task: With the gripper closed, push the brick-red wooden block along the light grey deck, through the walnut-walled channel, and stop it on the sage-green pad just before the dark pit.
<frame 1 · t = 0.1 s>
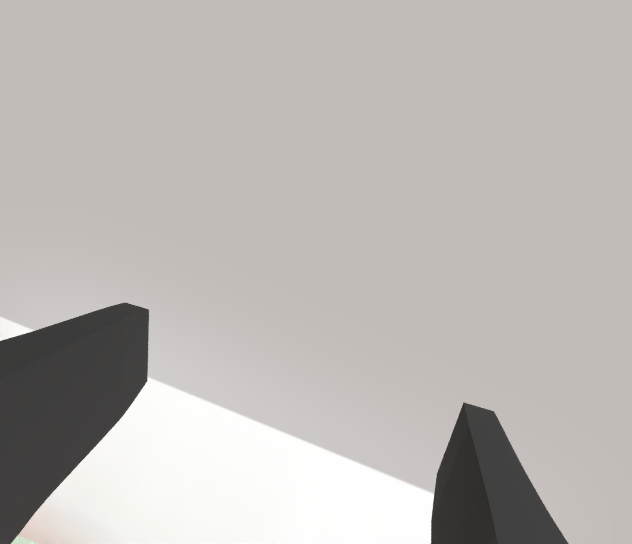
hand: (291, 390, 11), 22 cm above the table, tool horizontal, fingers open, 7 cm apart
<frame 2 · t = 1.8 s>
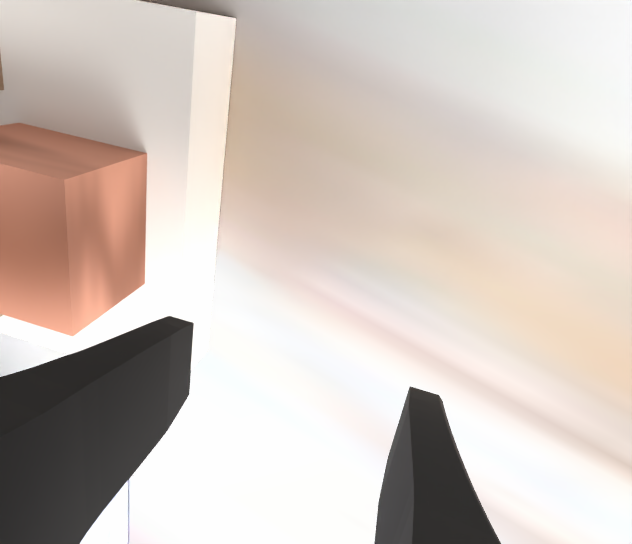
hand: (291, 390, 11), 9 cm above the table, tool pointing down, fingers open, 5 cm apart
block: (84, 206, 18), point 3 cm above the table, touching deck
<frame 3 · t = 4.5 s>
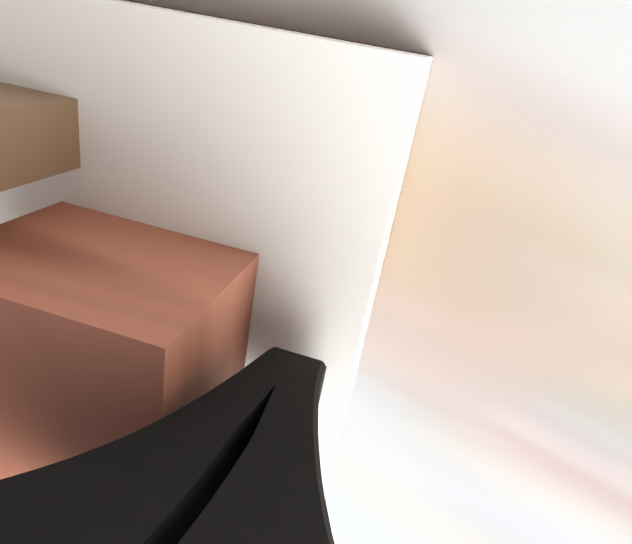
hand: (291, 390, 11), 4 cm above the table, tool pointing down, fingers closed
block: (154, 319, 13), point 3 cm above the table, touching gripper
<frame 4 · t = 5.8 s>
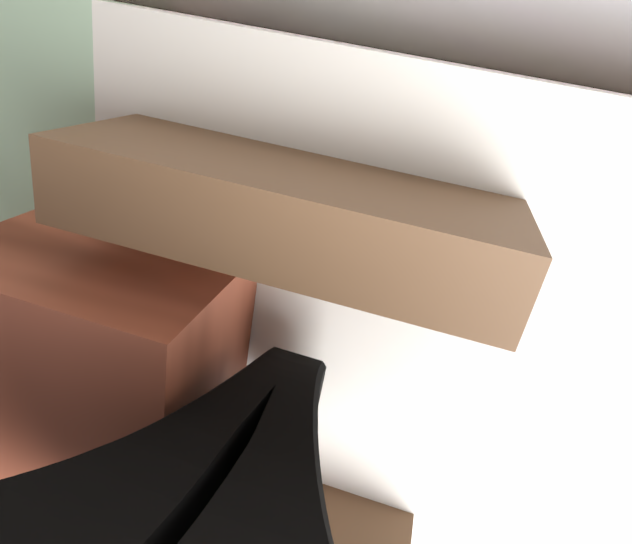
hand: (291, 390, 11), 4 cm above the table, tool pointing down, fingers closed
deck: (162, 262, 16), on the table
block: (155, 317, 13), point 3 cm above the table, touching gripper
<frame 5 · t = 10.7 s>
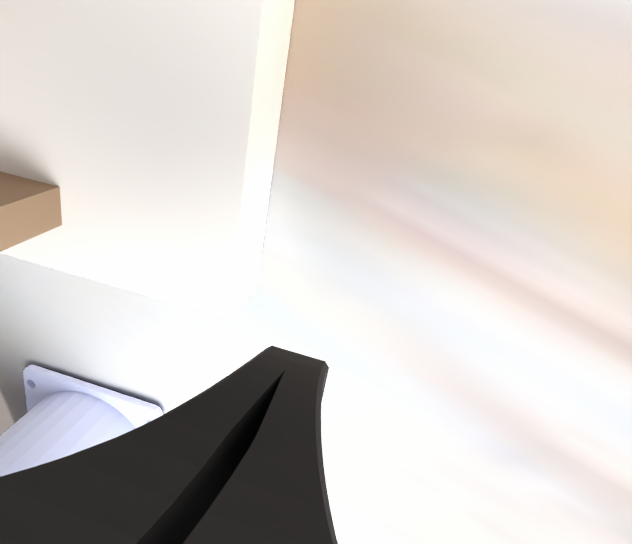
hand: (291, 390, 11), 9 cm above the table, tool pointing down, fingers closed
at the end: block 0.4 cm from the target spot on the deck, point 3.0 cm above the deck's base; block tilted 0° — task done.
